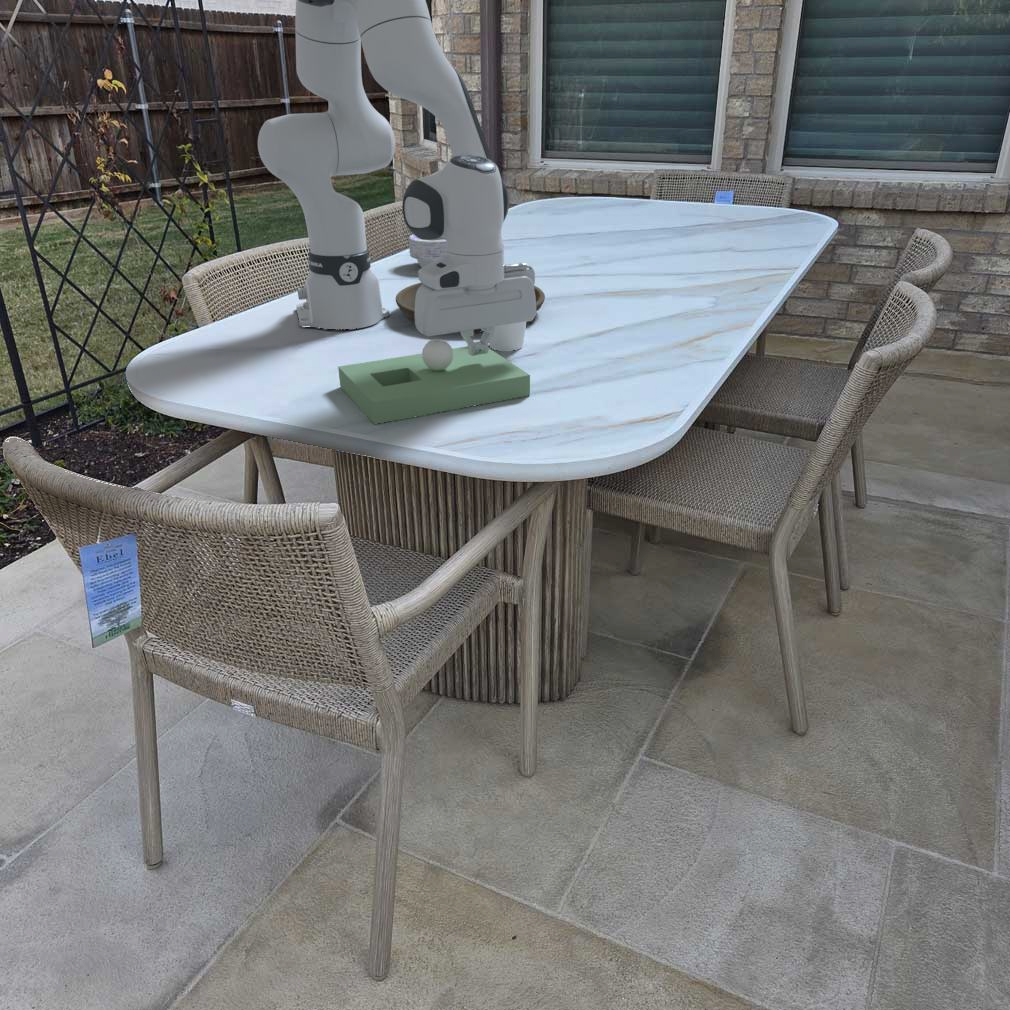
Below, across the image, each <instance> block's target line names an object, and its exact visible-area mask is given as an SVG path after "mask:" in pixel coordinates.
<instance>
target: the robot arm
mask: <svg viewBox="0 0 1010 1010" xmlns="http://www.w3.org/2000/svg"><path fill="white" fill-rule="evenodd" d="M294 17H295V18H294V19H295V20H294V21H295V24H294V25H295V26H294V29H295V65H296V66H295V68H296V75H297V77H298V80H299V81H300V83H301V84H302V86H303V87H304V88H305V89H306V90H308V91H309V92H311V93H312V94H314V95H315V96H317V97H318V98H319V97H320V98H321V99H324V100H326V101H327V102H328V104H327V105H328V109H327V111H324V112H311V113H310V112H305V113H304V112H303V113H289V114H285V115H281V116H277V117H274V118H269V119H267V120H266V121H264V122H263V125H262V126H261V128H260V130H259V131H258V136H257V151H258V155H259V157H260V160H261V163H263V165H264V167H265V168H266V169H267V171H269V172H270V174H272V175H273V176H275V177H276V178H278V179H279V180H280V181H282V182H283V183H285V185H286V186H287V187H288V188H289V189H290V190H291V191H292V193H293V195H295V197H296V199H297V200H298V202H299V204H300V206H301V209H302V211H303V216H304V219H305V225H306V229H307V230H306V231H307V237H308V244H309V252H308V256H307V257H308V258H307V262H308V270H309V273H308V276H307V277H306V280H305V281H304V287H298V288H297V296H298V297H297V298H298V300H305V301H304V302H301V303H298V304H296V312H297V313H298V315H297V318H299V320H298V325H299V324H300V325H299V327H300V326H310V327H320V328H325V329H324V330H327V329H336V330H335V331H345V329H349V330H357V329H362V328H367V327H370V326H374V325H375V324H377V323H379V322H381V320H383V319H385V318H387V317H389V316H390V310H389V309H387V308H385V307H383V302H382V296H381V288H380V282H379V281H380V280H379V277H378V275H376V274H375V273H373V272H372V270H371V269H370V268H371V255H370V249H369V248H368V247H367V237H366V224H365V223H366V222H365V213H364V212H363V209H362V207H361V205H360V204H359V203H358V202H357V201H355V200H354V199H352V198H351V197H348V196H346V195H344V194H342V193H339V192H337V191H336V190H335V189H334V187H333V183H332V177H337V176H348V175H349V176H351V175H362V174H367V173H371V172H376V171H378V170H382V169H384V168H387V167H388V166H389V165H390V164H391V162H392V160H393V159H394V158H393V157H394V155H395V152H396V138H395V137H396V136H395V133H394V130H393V127H392V126H391V124H390V122H389V121H388V120H387V118H386V117H385V116H384V115H382V114H381V113H379V112H378V110H376V108H375V107H373V105H372V104H371V102H370V100H369V98H368V96H367V94H366V91H365V89H364V85H363V77H362V52H363V55H364V59H365V62H366V64H367V66H368V70H369V72H370V74H371V76H372V77H373V79H374V80H375V81H376V82H377V83H378V85H379V86H381V87H382V88H383V89H384V90H386V91H387V92H388V93H390V94H392V95H394V96H395V97H397V98H400V99H404V100H405V101H409V102H411V103H414V104H416V105H418V106H420V107H422V108H423V109H425V110H427V111H428V112H430V113H431V114H432V115H433V116H434V117H435V118H436V119H437V120H438V121H439V123H440V125H441V126H442V128H443V130H444V132H445V135H446V138H447V141H448V144H449V147H450V149H451V152H452V155H453V157H451V158H449V160H447V162H446V164H445V165H444V166H443V167H442V168H441V169H439V170H437V171H435V172H434V173H431V174H428V175H426V176H423V177H419V178H418V179H414V180H412V181H411V182H410V183H409V184H408V185H407V187H406V189H405V191H404V193H403V194H404V195H403V198H402V216H403V219H404V222H405V225H406V226H407V229H408V230H409V232H411V233H412V235H413V234H414V235H415V236H416V237H418V238H419V239H422V240H430V241H434V240H441V239H445V240H446V241H447V244H448V245H447V256H445V257H443V258H441V259H439V260H437V261H435V262H433V263H431V264H429V265H426V266H424V267H420V268H419V269H418V271H417V277H418V280H419V281H420V283H421V282H422V283H423V284H422V285H421V286H420V287H419V288H418V290H417V293H416V298H415V323H414V324H415V325H414V326H415V328H416V329H417V331H418V332H420V333H421V334H422V335H424V336H426V337H432V336H433V337H434V336H439V335H447V334H453V333H460V335H461V337H462V338H463V340H464V341H465V342H466V344H467V346H466V347H468V354H469V355H470V356H475V355H481V354H487V353H488V348H489V342H490V340H491V338H492V336H493V334H494V326H500V325H507V324H514V323H520V322H526V323H527V322H532V321H533V320H534V319H535V317H536V315H537V311H536V298H535V291H534V286H535V282H536V273H535V270H534V268H533V266H532V265H531V266H530V265H529V264H527V262H519V263H516V264H505V250H504V249H505V245H504V242H503V239H502V229H503V226H504V225H503V224H504V222H505V221H506V219H507V215H508V212H509V208H510V196H509V192H508V189H507V186H506V184H505V182H504V179H503V178H502V176H501V173H500V169H499V167H498V165H497V164H496V163H495V162H494V159H493V157H492V154H491V152H490V150H489V149H490V148H489V147H488V144H487V140H486V138H485V135H484V132H483V129H482V126H481V123H480V121H479V119H478V115H477V112H476V109H475V106H474V103H473V101H472V98H471V95H470V93H469V91H468V89H467V86H466V83H465V81H464V79H463V77H462V75H461V74H460V72H459V71H458V70H457V69H456V68H455V67H454V66H453V65H452V64H451V63H450V61H449V60H448V58H447V57H446V55H445V54H444V52H443V49H442V48H441V46H440V44H439V41H438V39H437V37H436V34H435V30H434V27H433V23H432V19H431V15H430V11H429V8H428V4H427V1H426V0H296V2H295V16H294ZM361 50H363V51H361ZM384 317H385V318H384ZM320 328H319V329H320ZM356 328H357V329H356ZM337 329H338V330H337ZM339 329H341V330H339ZM342 329H344V330H342ZM474 329H481V330H482V331H484V332H482V335H481V338H480V339H479V341H475V342H474V340H473V339H472V337H474V335H475V334H474V333H475V332H474Z"/></svg>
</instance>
